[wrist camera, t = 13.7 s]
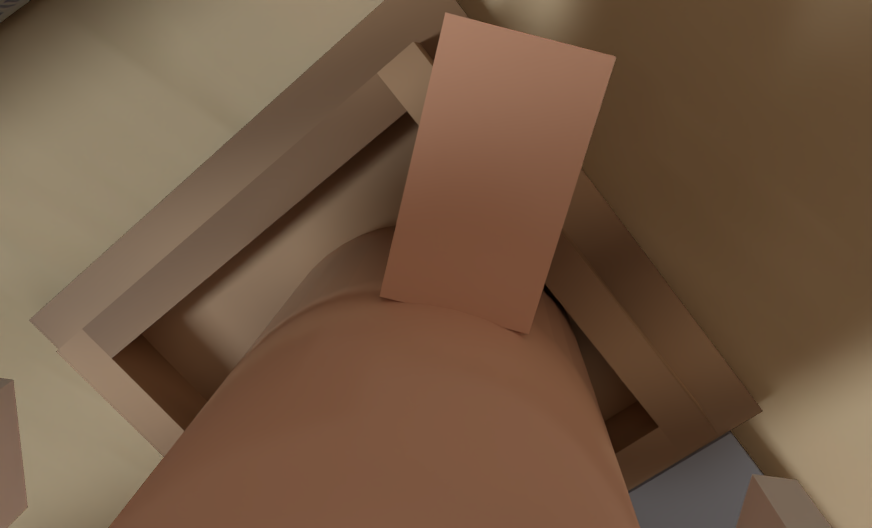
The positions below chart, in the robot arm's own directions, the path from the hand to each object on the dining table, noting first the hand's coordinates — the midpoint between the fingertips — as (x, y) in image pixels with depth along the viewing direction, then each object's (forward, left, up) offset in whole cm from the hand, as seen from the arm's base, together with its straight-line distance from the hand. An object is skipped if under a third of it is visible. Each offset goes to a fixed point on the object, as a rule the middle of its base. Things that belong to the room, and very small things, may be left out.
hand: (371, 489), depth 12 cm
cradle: (0, +1, -6) cm, 6 cm away
